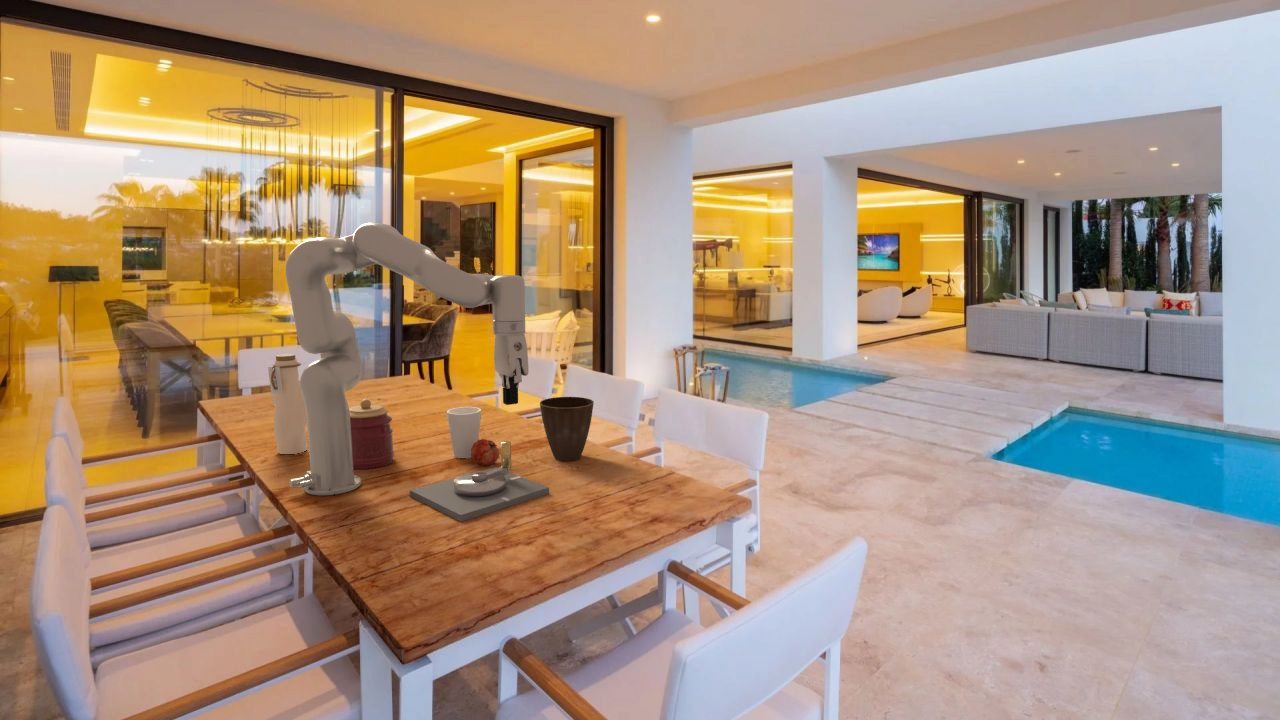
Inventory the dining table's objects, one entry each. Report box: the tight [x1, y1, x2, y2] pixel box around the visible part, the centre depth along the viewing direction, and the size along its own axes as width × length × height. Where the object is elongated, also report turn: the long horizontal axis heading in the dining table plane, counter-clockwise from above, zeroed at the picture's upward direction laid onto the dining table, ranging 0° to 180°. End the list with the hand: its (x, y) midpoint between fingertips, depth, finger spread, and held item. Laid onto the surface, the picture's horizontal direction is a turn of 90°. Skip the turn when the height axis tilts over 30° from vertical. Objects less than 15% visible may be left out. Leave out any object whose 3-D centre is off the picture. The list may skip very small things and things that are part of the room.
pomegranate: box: [471, 438, 500, 467], centre depth 183 cm, size 7×7×10 cm
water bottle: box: [267, 353, 309, 455], centre depth 192 cm, size 10×9×28 cm
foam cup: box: [446, 406, 482, 459], centre depth 191 cm, size 10×9×13 cm
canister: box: [349, 398, 395, 470], centre depth 183 cm, size 13×13×18 cm
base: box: [409, 466, 550, 522], centre depth 160 cm, size 24×22×2 cm
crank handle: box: [453, 440, 513, 497], centre depth 161 cm, size 16×12×9 cm
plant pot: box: [539, 396, 595, 462], centre depth 189 cm, size 15×15×16 cm
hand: (510, 403), depth 162 cm, fingers closed
